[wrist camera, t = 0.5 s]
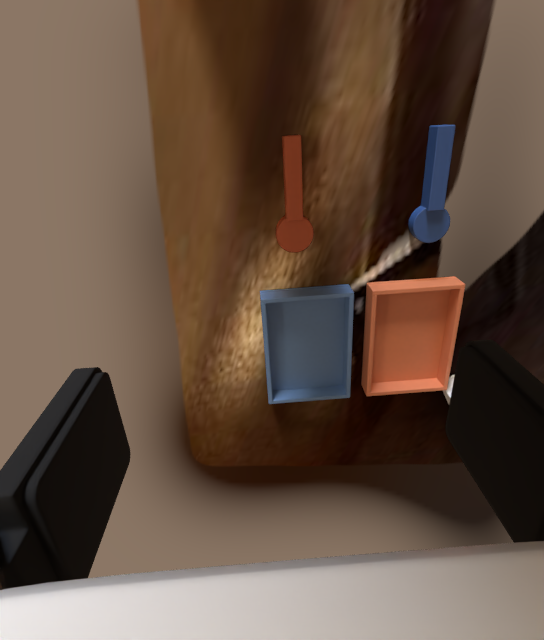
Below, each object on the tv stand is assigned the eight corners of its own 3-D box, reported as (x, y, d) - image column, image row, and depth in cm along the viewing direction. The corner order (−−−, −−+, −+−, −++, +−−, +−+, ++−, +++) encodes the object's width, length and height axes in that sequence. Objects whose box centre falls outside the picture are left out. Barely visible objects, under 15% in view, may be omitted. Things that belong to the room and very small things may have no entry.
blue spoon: (417, 126, 37) (426, 126, 35) (457, 123, 37) (467, 123, 36) (406, 240, 42) (413, 245, 40) (441, 238, 42) (450, 243, 40)
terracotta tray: (366, 282, 44) (372, 291, 42) (454, 276, 44) (465, 284, 42) (361, 384, 50) (366, 396, 48) (438, 378, 51) (447, 390, 48)
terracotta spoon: (270, 136, 37) (271, 137, 35) (310, 133, 37) (313, 134, 35) (276, 250, 42) (277, 255, 40) (312, 247, 42) (314, 253, 40)
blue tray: (260, 290, 44) (260, 299, 42) (348, 283, 44) (354, 292, 42) (267, 391, 50) (268, 404, 48) (345, 385, 50) (350, 397, 48)
